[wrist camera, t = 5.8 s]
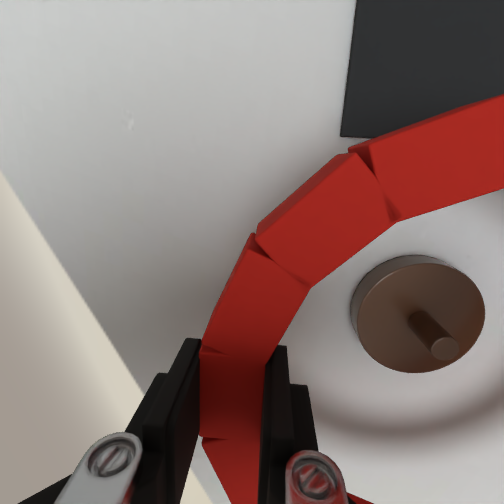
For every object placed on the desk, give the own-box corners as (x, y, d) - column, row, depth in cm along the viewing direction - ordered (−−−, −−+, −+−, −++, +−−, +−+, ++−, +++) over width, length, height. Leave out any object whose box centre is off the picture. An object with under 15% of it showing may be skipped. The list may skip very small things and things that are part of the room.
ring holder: (343, 351, 18) (361, 401, 14) (359, 250, 16) (384, 276, 13) (452, 361, 18) (501, 415, 14) (481, 259, 16) (545, 288, 12)
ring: (209, 520, 15) (199, 579, 13) (213, 94, 9) (197, 74, 7) (614, 564, 14) (675, 635, 12) (885, 121, 8) (1089, 107, 6)
